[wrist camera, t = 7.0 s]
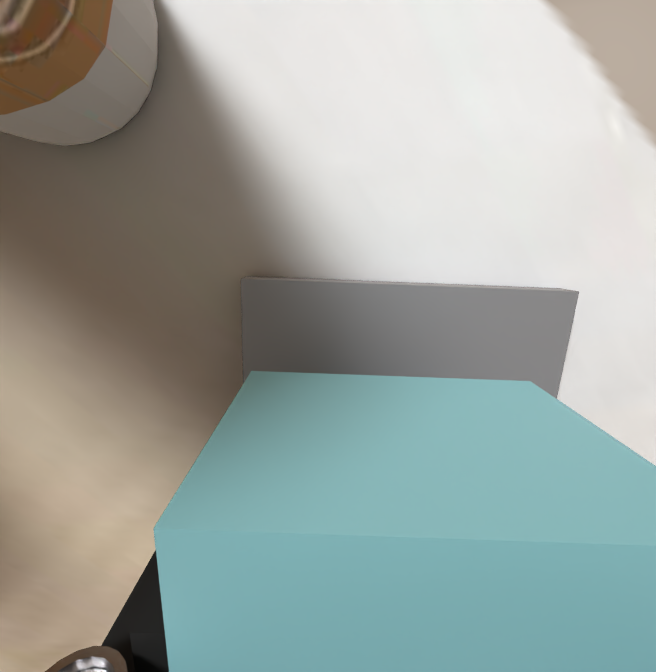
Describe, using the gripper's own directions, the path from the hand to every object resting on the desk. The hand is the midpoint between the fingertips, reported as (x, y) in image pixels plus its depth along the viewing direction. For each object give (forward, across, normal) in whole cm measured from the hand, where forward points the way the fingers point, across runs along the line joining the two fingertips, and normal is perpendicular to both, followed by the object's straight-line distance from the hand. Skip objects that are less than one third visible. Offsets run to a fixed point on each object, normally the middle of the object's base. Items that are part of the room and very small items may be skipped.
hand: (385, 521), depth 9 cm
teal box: (+1, 0, 0) cm, 1 cm away
